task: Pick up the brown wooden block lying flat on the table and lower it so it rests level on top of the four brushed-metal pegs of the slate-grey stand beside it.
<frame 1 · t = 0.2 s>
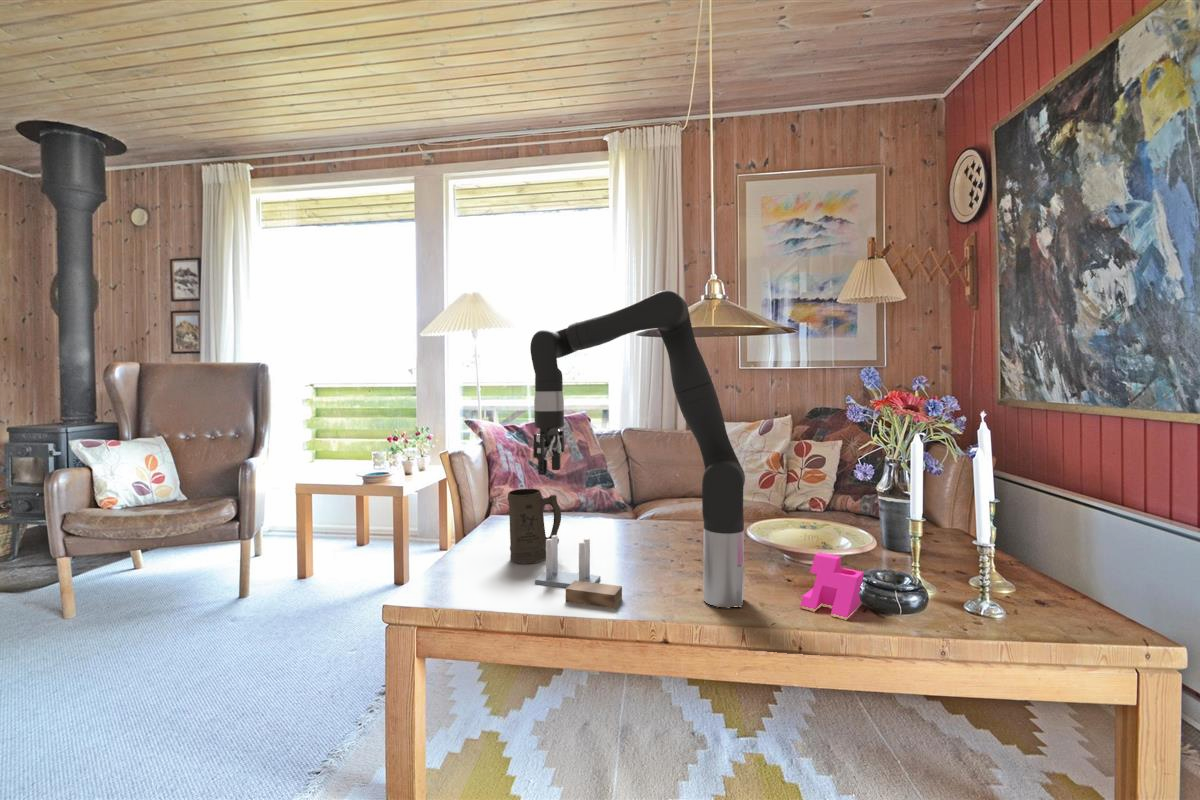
hand: (549, 472, 147), 28 cm above the table, tool pointing down, fingers open, 8 cm apart
peg stand: (568, 581, 148), on the table
pink dog planter: (831, 607, 132), on the table
brown wooden block: (593, 602, 135), on the table
beer stein: (534, 559, 167), on the table
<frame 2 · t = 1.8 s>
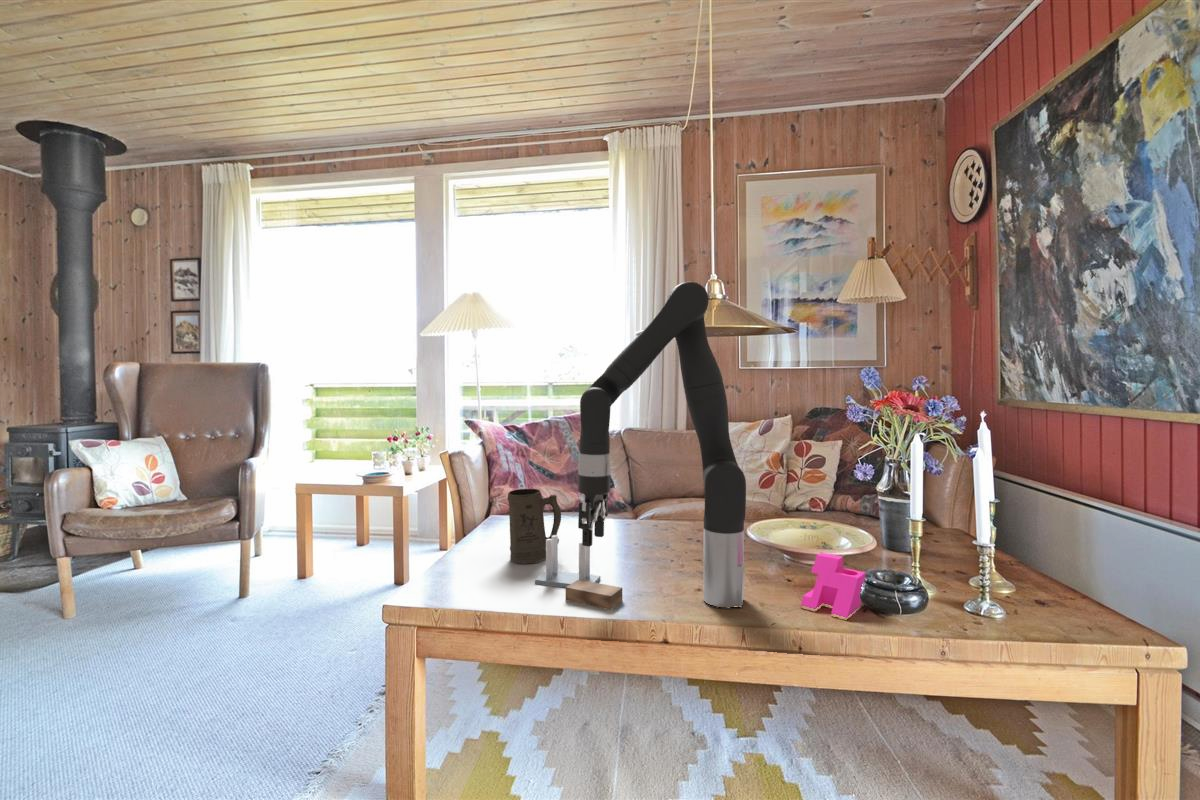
hand: (593, 541, 135), 14 cm above the table, tool pointing down, fingers open, 8 cm apart
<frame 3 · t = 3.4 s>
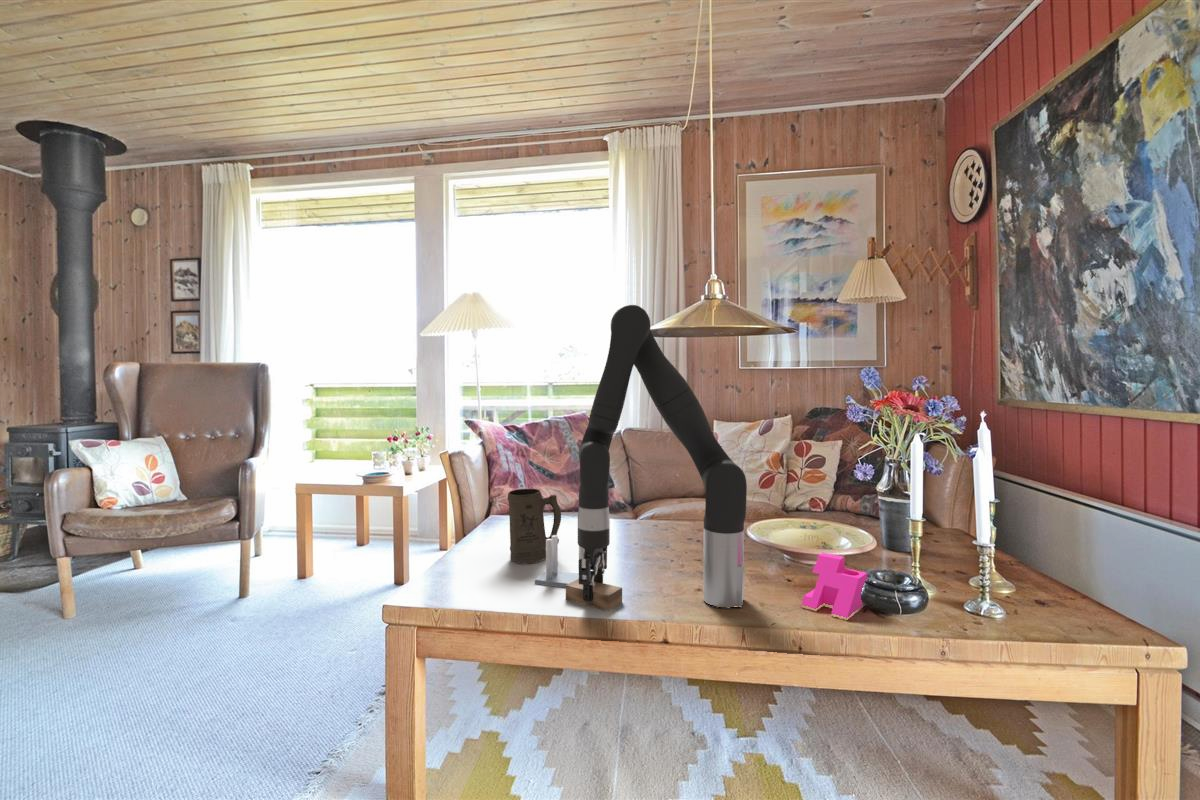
hand: (593, 594, 135), 1 cm above the table, tool pointing down, fingers closed on brown wooden block, 7 cm apart
brown wooden block: (593, 601, 135), on the table, touching gripper
everything else where it was.
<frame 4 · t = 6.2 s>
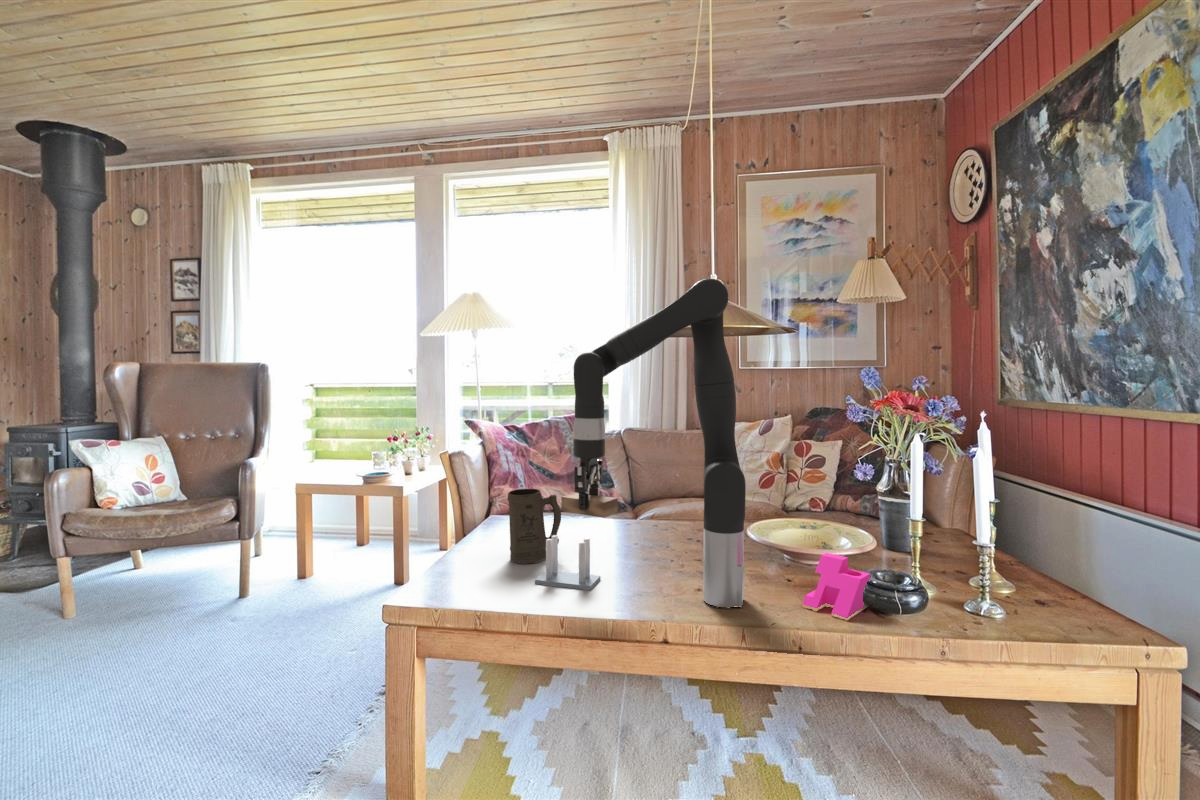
hand: (588, 506, 136), 22 cm above the table, tool pointing down, fingers closed on brown wooden block, 7 cm apart
brown wooden block: (589, 512, 136), point 21 cm above the table, touching gripper
everything else where it was.
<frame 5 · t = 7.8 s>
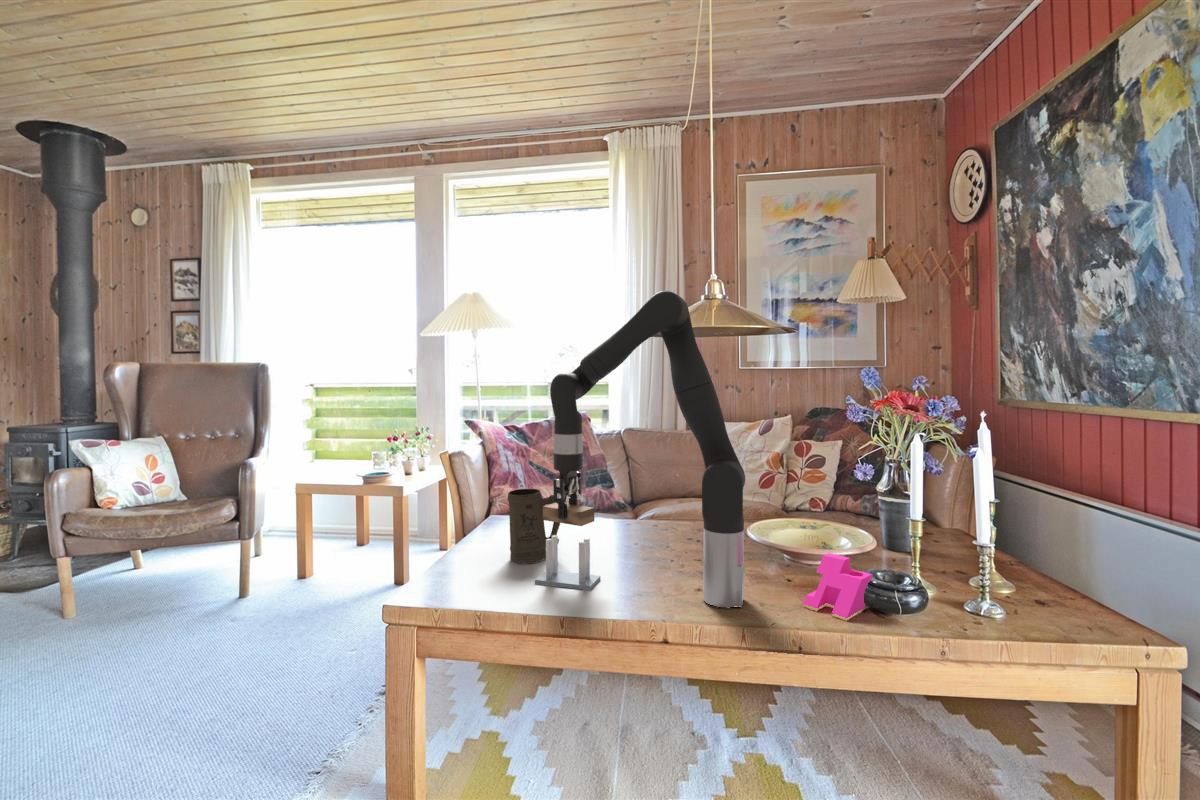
hand: (568, 515, 147), 17 cm above the table, tool pointing down, fingers closed on brown wooden block, 7 cm apart
brown wooden block: (568, 520, 147), point 16 cm above the table, touching gripper
when the fingers open (14 cm above the table, at t = 9.0 s): brown wooden block drops 1 cm, resting on peg stand.
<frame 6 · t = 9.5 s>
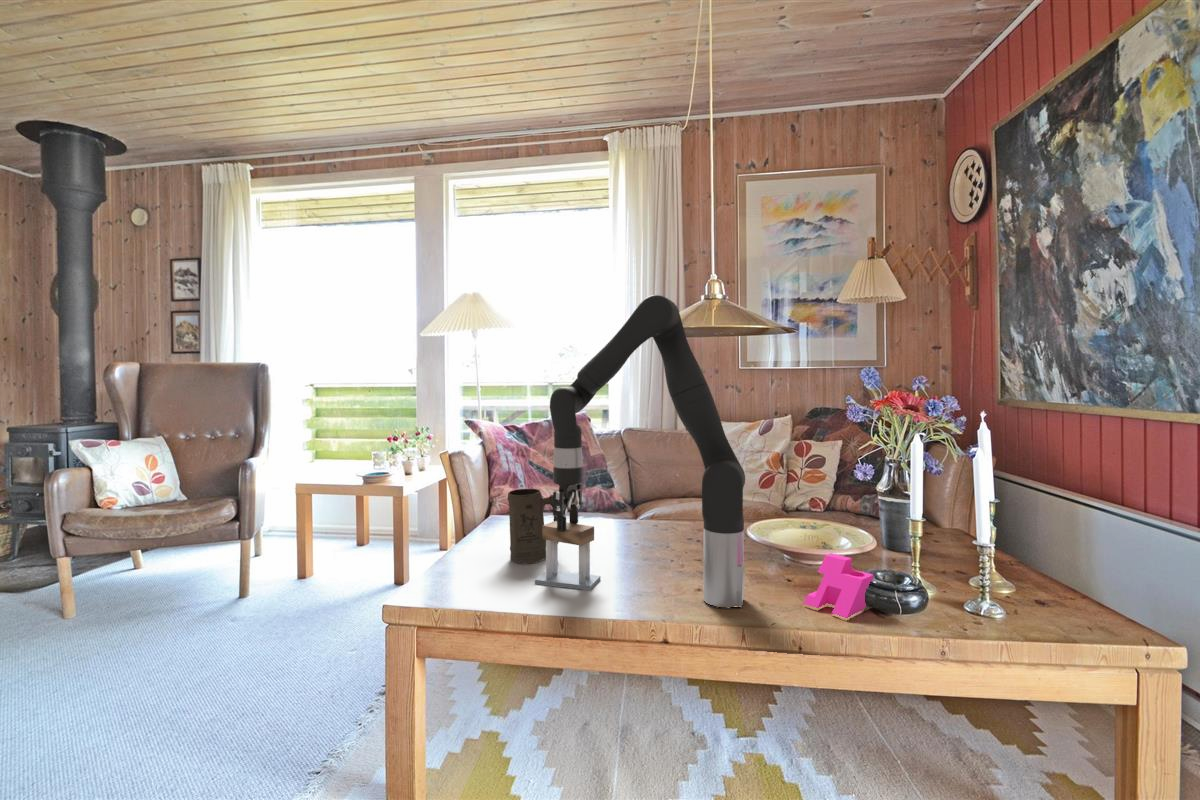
hand: (567, 527, 147), 14 cm above the table, tool pointing down, fingers open, 8 cm apart
brown wooden block: (568, 539, 147), point 11 cm above the table, touching peg stand
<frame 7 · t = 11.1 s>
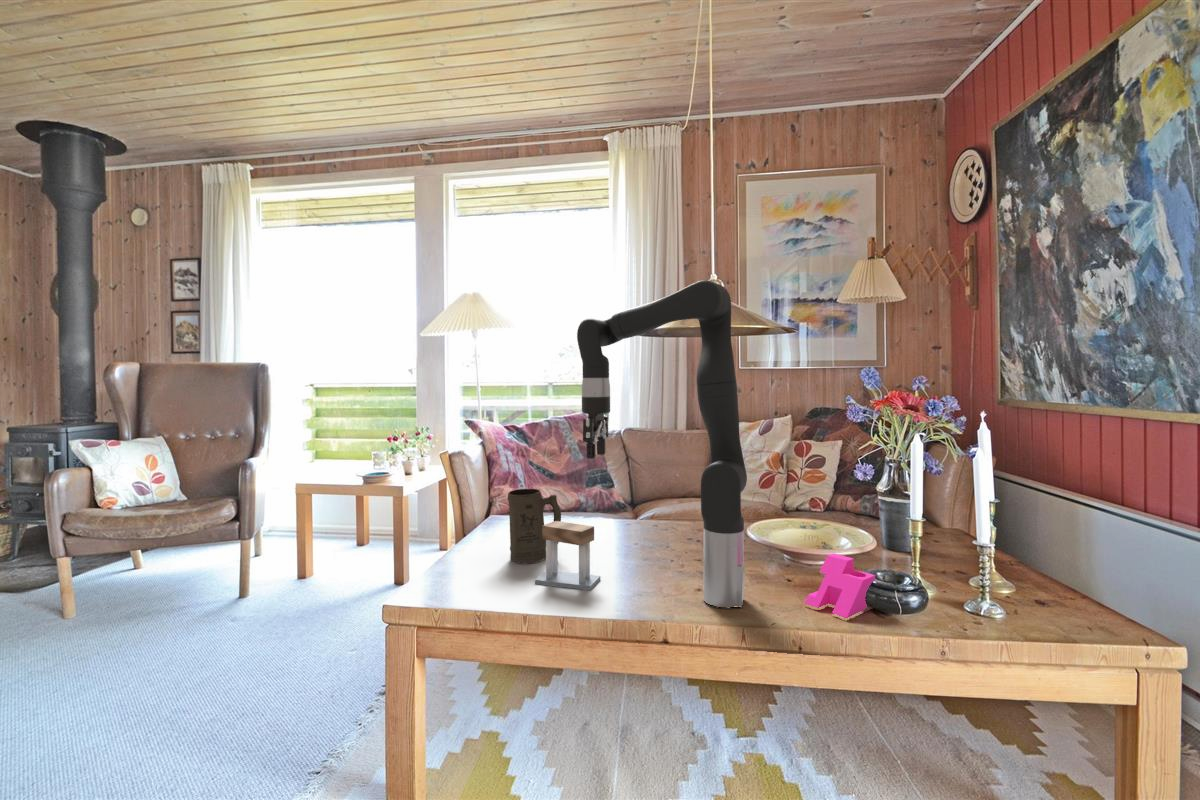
hand: (596, 456, 152), 32 cm above the table, tool pointing down, fingers open, 8 cm apart
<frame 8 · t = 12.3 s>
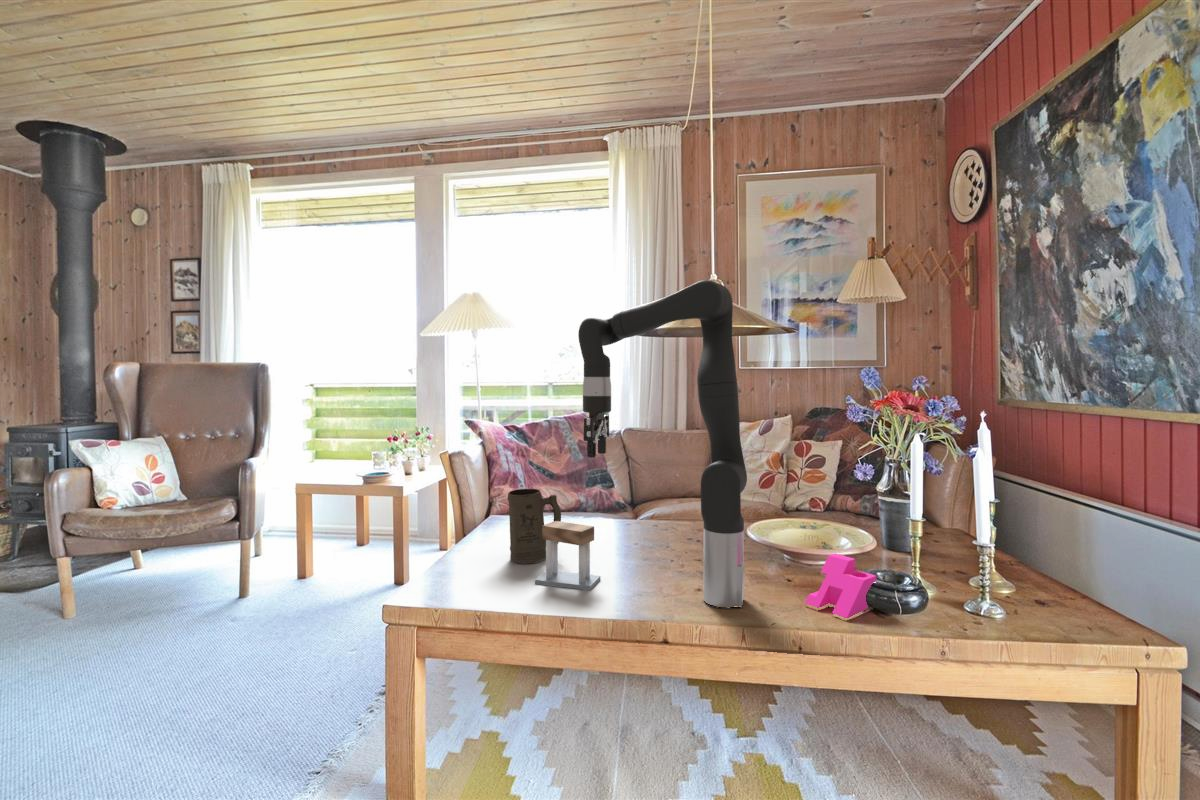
hand: (596, 455, 152), 32 cm above the table, tool pointing down, fingers open, 8 cm apart
at the end: brown wooden block 0.2 cm off-centre on the peg stand, point 11.0 cm above the peg stand's base; brown wooden block tilted 0°; the gripper is holding nothing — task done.
